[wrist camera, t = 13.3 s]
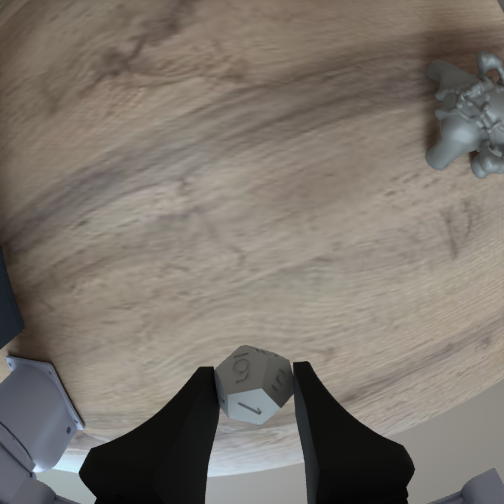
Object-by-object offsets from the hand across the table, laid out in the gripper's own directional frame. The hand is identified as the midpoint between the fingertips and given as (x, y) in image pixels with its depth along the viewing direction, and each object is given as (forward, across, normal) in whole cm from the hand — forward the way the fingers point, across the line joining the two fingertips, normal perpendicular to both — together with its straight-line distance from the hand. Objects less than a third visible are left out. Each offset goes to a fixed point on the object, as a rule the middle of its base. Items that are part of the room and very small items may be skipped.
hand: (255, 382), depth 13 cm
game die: (+2, 0, 0) cm, 2 cm away
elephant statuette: (+9, -17, -12) cm, 23 cm away
